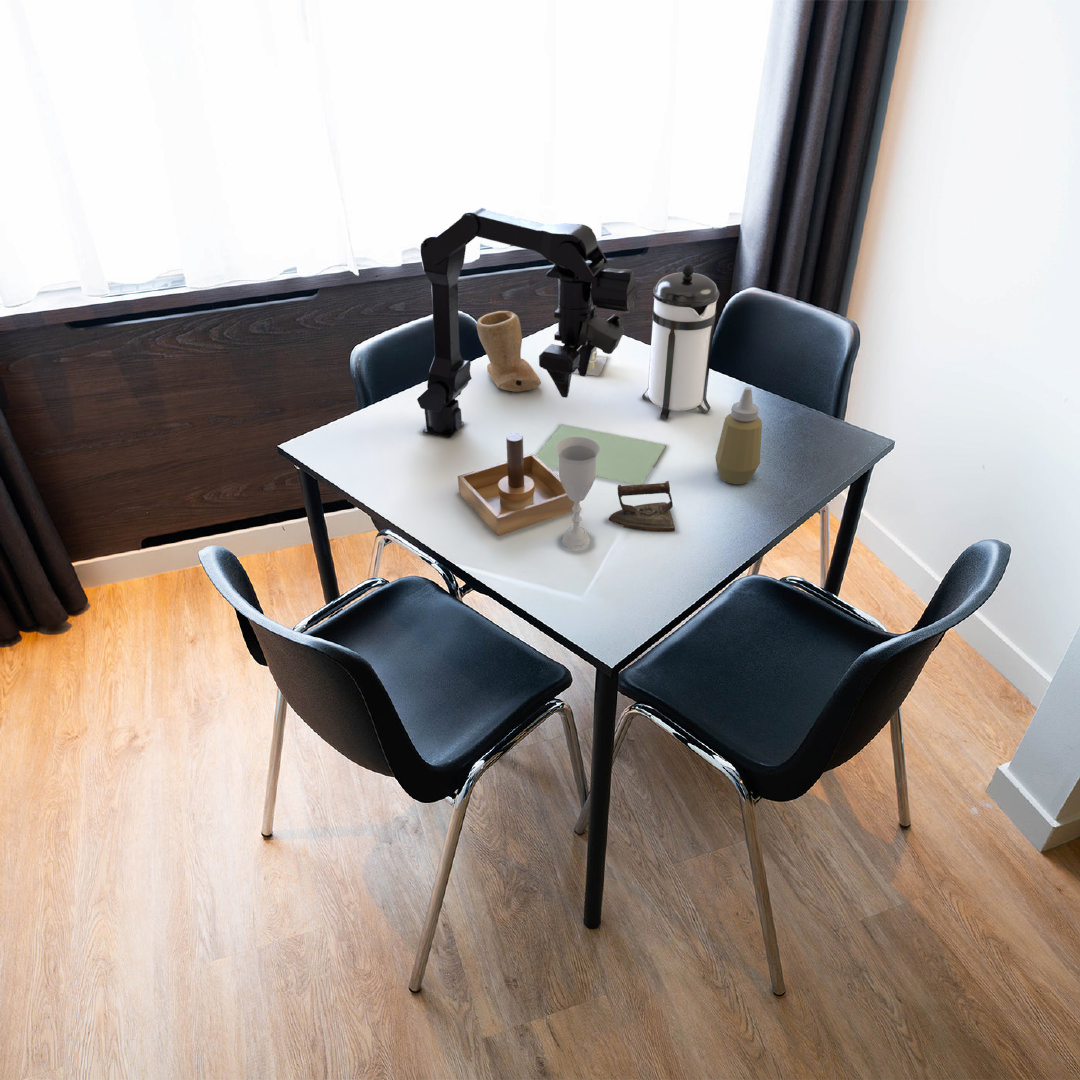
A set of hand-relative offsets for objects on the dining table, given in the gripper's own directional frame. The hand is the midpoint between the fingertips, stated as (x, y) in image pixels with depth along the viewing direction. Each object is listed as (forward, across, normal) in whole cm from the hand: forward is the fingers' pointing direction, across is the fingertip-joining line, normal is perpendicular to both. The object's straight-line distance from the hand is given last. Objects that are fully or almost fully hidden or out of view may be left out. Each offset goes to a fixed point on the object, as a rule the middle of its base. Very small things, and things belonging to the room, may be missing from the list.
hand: (573, 386), depth 154 cm
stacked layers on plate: (+15, +39, +12) cm, 44 cm away
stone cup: (+15, +25, +25) cm, 39 cm away
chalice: (+15, -26, -11) cm, 32 cm away
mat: (+15, +2, -5) cm, 16 cm away
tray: (+15, -19, +3) cm, 24 cm away
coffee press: (+15, +28, -12) cm, 34 cm away
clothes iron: (+15, -16, -19) cm, 29 cm away
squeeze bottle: (+15, +4, -31) cm, 34 cm away
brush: (+14, -19, +3) cm, 24 cm away
